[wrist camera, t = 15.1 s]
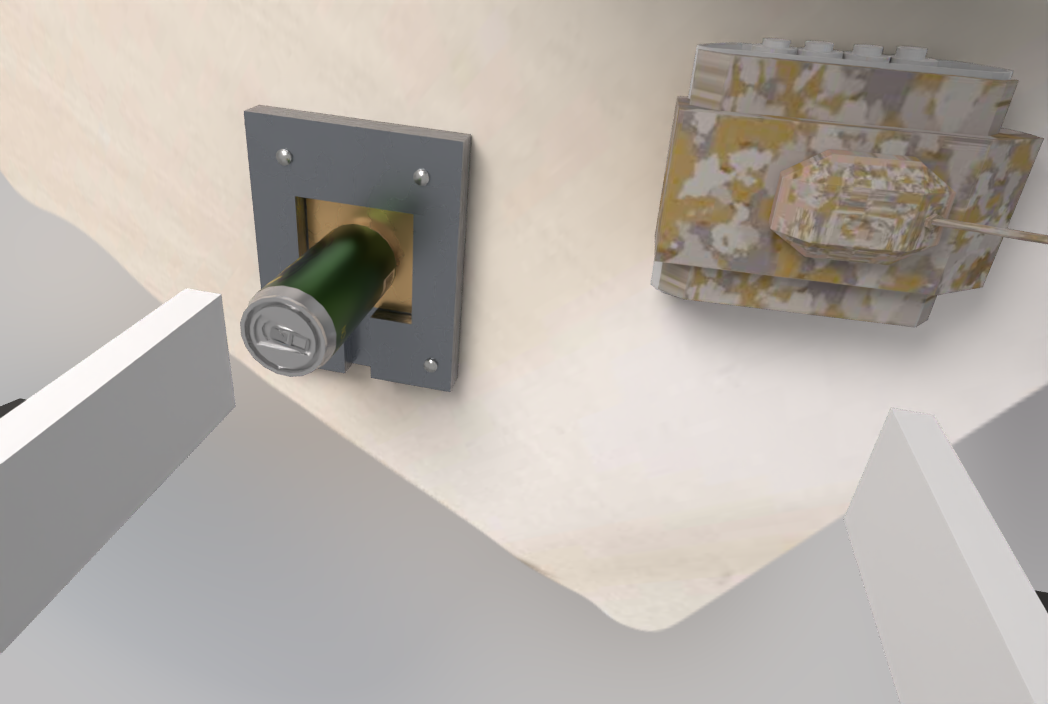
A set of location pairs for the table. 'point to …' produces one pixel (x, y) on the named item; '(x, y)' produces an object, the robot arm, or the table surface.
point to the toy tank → (838, 180)
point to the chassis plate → (380, 203)
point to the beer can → (318, 300)
